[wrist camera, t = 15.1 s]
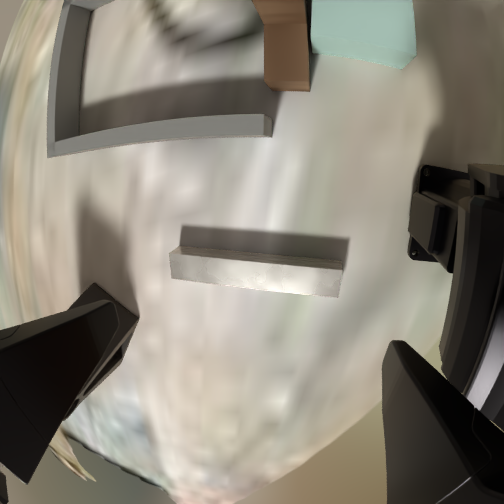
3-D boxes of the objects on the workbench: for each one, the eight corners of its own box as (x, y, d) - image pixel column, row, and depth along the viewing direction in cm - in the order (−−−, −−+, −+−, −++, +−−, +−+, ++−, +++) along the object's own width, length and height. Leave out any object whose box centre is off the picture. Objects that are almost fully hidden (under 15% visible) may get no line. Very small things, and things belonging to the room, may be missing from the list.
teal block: (397, 2, 11) (409, -19, 8) (400, 70, 14) (416, 55, 10) (314, -12, 12) (312, -37, 9) (312, 54, 15) (310, 35, 12)
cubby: (271, -47, 11) (263, -68, 9) (272, 137, 17) (263, 135, 14) (84, 7, 15) (64, -1, 12) (71, 154, 21) (47, 158, 18)
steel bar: (340, 258, 19) (342, 270, 17) (336, 284, 20) (338, 297, 18) (181, 244, 22) (169, 253, 20) (182, 267, 22) (171, 278, 21)
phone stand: (95, 281, 25) (9, 346, 14) (140, 318, 25) (62, 401, 14) (83, 332, 29) (20, 391, 18) (121, 363, 29) (63, 432, 18)
